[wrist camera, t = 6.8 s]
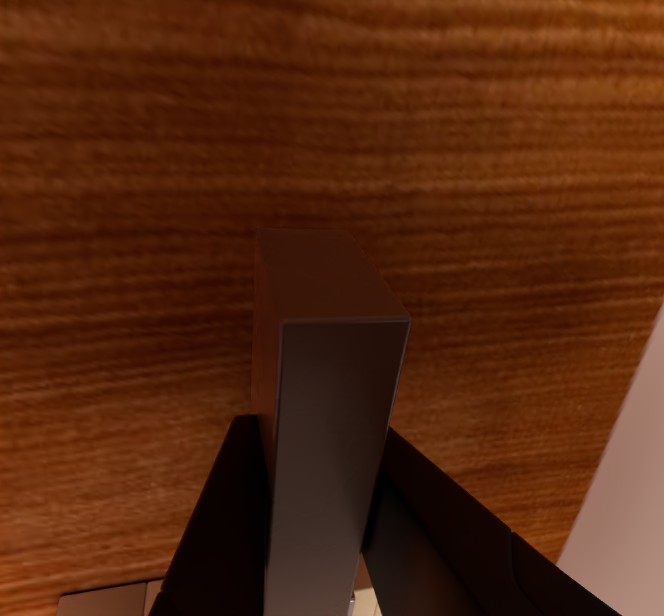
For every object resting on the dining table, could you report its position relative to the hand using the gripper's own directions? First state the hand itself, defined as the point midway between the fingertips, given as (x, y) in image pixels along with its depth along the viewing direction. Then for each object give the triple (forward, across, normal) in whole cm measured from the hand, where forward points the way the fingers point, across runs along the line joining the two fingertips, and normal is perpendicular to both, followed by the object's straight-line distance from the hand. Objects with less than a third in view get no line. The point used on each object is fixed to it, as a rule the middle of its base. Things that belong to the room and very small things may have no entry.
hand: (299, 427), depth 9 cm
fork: (+1, 0, +4) cm, 4 cm away
